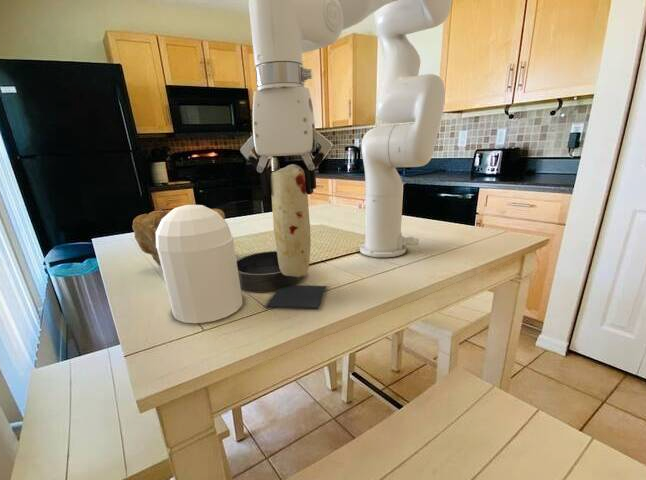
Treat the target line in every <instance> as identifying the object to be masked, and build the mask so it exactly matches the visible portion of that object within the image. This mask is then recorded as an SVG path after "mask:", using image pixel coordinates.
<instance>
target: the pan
mask: <svg viewBox="0 0 646 480" xmlns="http://www.w3.org/2000/svg"><path fill="white" fill-rule="evenodd" d="M236 261H237V268H238V274H239V281H240V287H241V291H245V292H253V293H270V292H271V293H272V292H276V291H277V290H278V289H280V288H284V287H288V286H291V285H298V284H300V283H301V282H303V281H304V280H305V277H306V274H305V275H302V276H300V277H294V276H285V275H283V274H282V272H281V271H280V268H279V263H278V256H277V250H270V251H261V252H255V253H251V254H248V255H245V256H242V257H240V258H238V259H236Z"/></svg>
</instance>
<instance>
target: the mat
mask: <svg viewBox="0 0 646 480" xmlns="http://www.w3.org/2000/svg"><path fill="white" fill-rule="evenodd" d="M326 288H327V286H326V285H298V284H297V285H291V286H288V287H284V288H280V289H278V290H277V291H275V292H274V294H273V295H272V297H271V298H270V300H269V301H268V303H267V304H266V308H272V309H273V308H275V309H276V308H277V309H299V310H300V309H301V310H302V309H305V310H318V309H319V306H320V304H321V302H322V299H323V296H324V293H325V290H326Z"/></svg>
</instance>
